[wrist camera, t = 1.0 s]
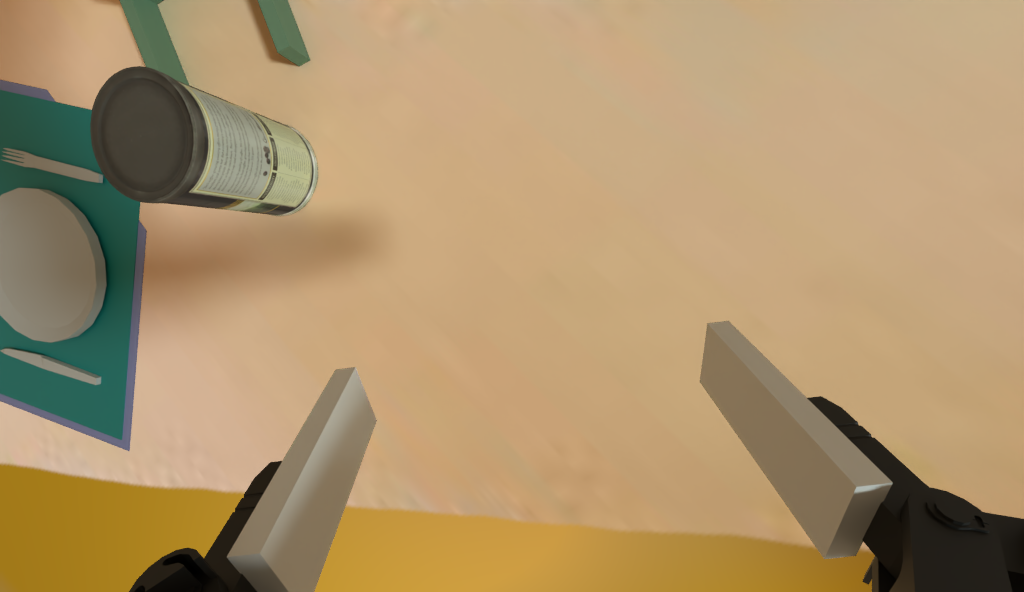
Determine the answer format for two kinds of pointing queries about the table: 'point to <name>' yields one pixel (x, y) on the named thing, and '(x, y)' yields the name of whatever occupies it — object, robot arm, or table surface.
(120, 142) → the coffee can
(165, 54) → the green frame
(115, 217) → the place mat
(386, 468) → the table surface
